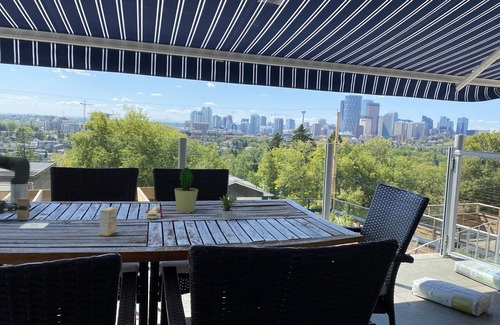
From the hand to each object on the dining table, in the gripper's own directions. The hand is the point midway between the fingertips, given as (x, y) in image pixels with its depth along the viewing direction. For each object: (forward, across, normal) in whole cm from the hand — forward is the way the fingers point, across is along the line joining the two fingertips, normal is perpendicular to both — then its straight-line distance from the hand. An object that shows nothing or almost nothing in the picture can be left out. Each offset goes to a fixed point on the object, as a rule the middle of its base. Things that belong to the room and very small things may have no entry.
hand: (28, 207), depth 214 cm
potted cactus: (+87, +26, +8) cm, 92 cm away
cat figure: (+67, +13, +8) cm, 69 cm away
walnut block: (-3, 0, +6) cm, 7 cm away
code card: (+6, -11, +8) cm, 15 cm away
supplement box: (+46, -29, +8) cm, 55 cm away
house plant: (+111, -1, +8) cm, 112 cm away
